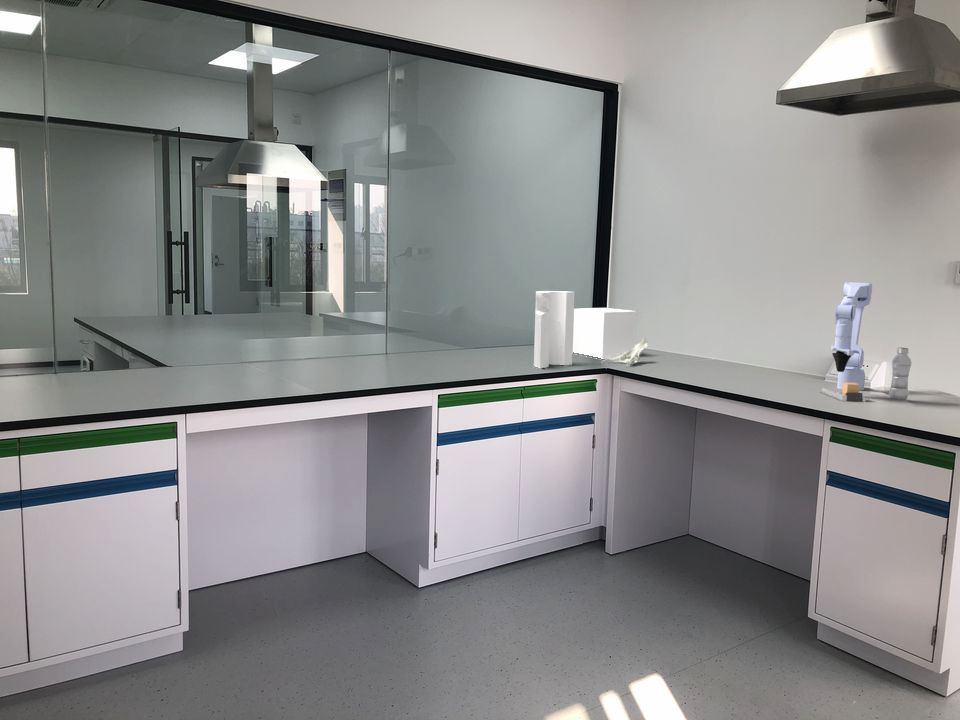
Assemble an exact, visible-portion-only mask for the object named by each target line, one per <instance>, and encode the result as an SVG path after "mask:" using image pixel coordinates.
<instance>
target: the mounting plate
mask: <svg viewBox="0 0 960 720" xmlns="http://www.w3.org/2000/svg"><path fill="white" fill-rule="evenodd" d="M819 394H822V395H825V396H827V397H830V398H832V399H834V400H837V401H838V402H851V403H852V402H853V403H854V402H856V403H860V402H861V403H864V402H866V403H867V400H866V398H865V397H863V395H864V394H863V392H859V393H846V395H844V394H842V392H839V391H836V390H833V389H831V388H828V387H822V388H821V391H820V392H819Z"/></svg>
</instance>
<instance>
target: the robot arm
mask: <svg viewBox="0 0 960 720" xmlns="http://www.w3.org/2000/svg"><path fill="white" fill-rule="evenodd" d="M872 292H873V284H872V282H855V281H853V282H852V281H851V282H850V281H846V282H845V283H844V285H843V290H842V293H843V298H842V300H841V302H840V304H839V305H836V306H835V311H834V315H835V316H834V317H835V322H834V323H835V334H834V345H830V351H832V357H833V359H834V365H835V368H836V372H837V385H836V388H837V389H839V390H843V382H845V383H857V384H859V391H864V390H865V384H866V383H865V381H866V379H865V378H866V373H865V371H864V370H863V369H862V368H863V366H864V359H865V358H864V357H865V356H864V355H865V352H864V349H863V348H861V346H860V345H858V343H859V336H860V330H861V325H862V324H861V323H862V318H863V312H864V309H865V307H866V306H868V305H870V303H871V300H872Z"/></svg>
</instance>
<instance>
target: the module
mask: <svg viewBox="0 0 960 720" xmlns="http://www.w3.org/2000/svg"><path fill="white" fill-rule="evenodd" d="M841 393H842V394H844V395H846V393H860V390H859V384H857V383H845V382H843V389H842V392H841Z"/></svg>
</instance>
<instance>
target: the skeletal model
mask: <svg viewBox="0 0 960 720" xmlns="http://www.w3.org/2000/svg"><path fill="white" fill-rule="evenodd" d="M648 342H649V341H648V340H646V338H644V337H643V338H642V340H641V341H640V342H639V343H637V344H635V347H634V349H632V350H630V351H628V352H624V353H623V355H619V356H617V357H613V358H609V357H611V356H613V355H611V356H609V357H607V358H606V359H605V360H601V362H600V364H601V363H602V364H603V363H604V362H605V361H607V360H608V361H613V362H614V363H623V364H626V363H627V364H626V365H624V367H625V368H627V367H628V366H629V365H630V366H633V365H634V364H635V365H636V364H637V363H638V362H639V360H640V359H641V358H640V357H641V356H640V355H641V353H642V351H643V350H644V349H646V348H648V346H649V345H648V344H649V343H648ZM618 354H621V353H618ZM626 354H627V355H626ZM614 355H616V354H614ZM622 356H624V358H621V357H622Z"/></svg>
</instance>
